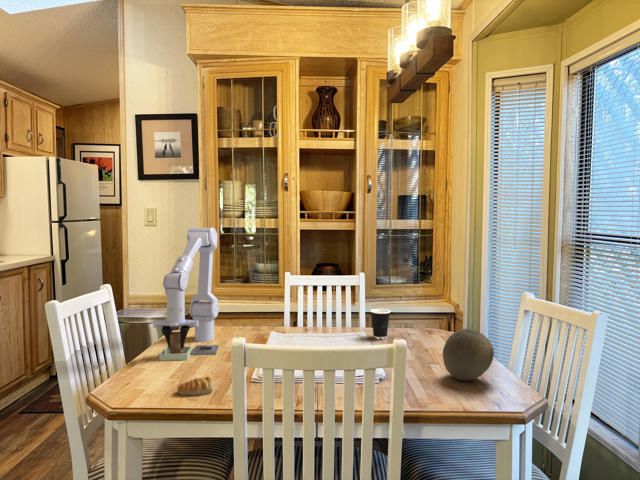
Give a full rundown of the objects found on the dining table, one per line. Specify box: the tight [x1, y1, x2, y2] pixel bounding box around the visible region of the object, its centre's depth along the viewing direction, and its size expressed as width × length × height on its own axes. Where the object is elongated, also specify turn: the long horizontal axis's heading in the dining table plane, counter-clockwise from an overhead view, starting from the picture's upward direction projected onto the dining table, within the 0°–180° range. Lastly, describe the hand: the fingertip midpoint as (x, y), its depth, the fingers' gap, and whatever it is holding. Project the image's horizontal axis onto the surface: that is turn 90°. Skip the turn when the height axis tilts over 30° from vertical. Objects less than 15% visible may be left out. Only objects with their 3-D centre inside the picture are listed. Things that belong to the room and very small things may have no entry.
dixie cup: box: [370, 308, 391, 339], centre depth 185 cm, size 8×8×11 cm
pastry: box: [177, 376, 214, 396], centre depth 129 cm, size 9×7×4 cm
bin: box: [158, 345, 193, 362], centre depth 157 cm, size 9×9×3 cm
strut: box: [169, 331, 183, 354], centre depth 157 cm, size 3×3×7 cm
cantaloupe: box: [442, 328, 495, 382], centre depth 139 cm, size 14×14×15 cm
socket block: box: [191, 344, 220, 356], centre depth 163 cm, size 8×8×2 cm
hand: (176, 347), depth 157 cm, fingers closed on strut, 3 cm apart
